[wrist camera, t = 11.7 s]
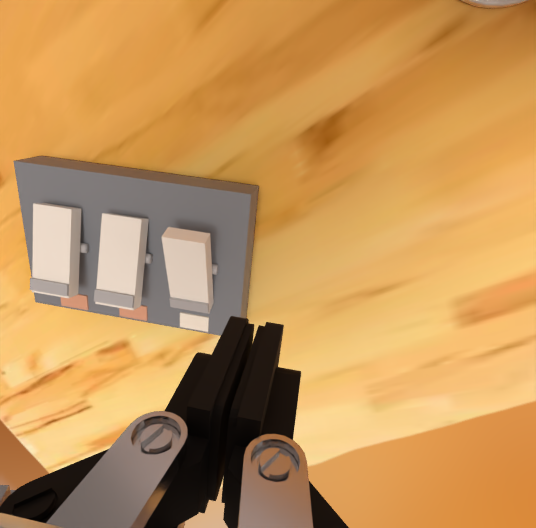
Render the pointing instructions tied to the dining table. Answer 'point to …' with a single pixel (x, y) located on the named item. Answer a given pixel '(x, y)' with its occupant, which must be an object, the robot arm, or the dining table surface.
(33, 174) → the switch unit
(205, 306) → the rocker
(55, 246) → the rocker
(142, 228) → the rocker
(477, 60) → the dining table surface
